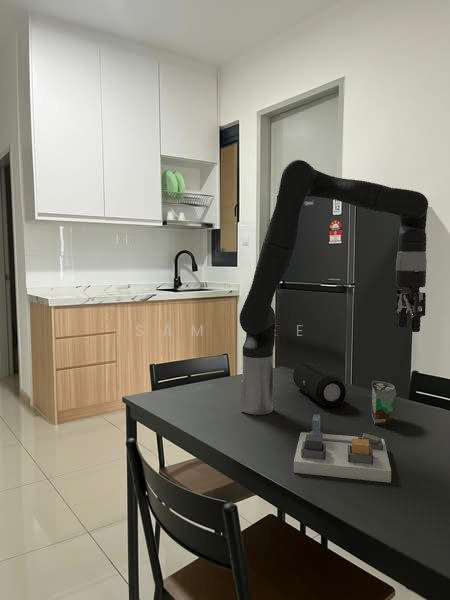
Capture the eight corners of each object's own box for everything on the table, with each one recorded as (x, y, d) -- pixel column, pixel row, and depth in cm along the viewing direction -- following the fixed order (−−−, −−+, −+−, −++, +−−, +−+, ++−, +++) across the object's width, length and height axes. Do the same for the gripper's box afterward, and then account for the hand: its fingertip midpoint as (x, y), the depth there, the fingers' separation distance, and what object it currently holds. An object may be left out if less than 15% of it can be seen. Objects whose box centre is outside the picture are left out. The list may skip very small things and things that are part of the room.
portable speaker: (290, 388, 170) (291, 361, 169) (316, 387, 172) (317, 359, 171) (318, 410, 145) (318, 378, 144) (348, 408, 147) (349, 377, 146)
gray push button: (305, 449, 105) (305, 440, 104) (306, 443, 108) (306, 434, 108) (321, 451, 104) (321, 441, 104) (322, 445, 107) (322, 435, 107)
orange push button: (351, 454, 102) (352, 444, 102) (351, 447, 106) (351, 438, 105) (369, 455, 101) (369, 445, 101) (368, 449, 105) (368, 439, 105)
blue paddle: (309, 440, 113) (309, 420, 113) (310, 433, 117) (310, 414, 117) (321, 441, 112) (322, 421, 112) (322, 434, 116) (323, 415, 116)
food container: (399, 428, 129) (400, 392, 128) (375, 426, 130) (376, 391, 130) (392, 413, 141) (393, 381, 140) (371, 412, 142) (371, 380, 142)
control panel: (293, 472, 102) (293, 453, 102) (300, 441, 120) (300, 425, 119) (390, 482, 98) (391, 463, 97) (383, 448, 115) (383, 432, 115)
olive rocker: (362, 441, 110) (363, 436, 110) (362, 437, 112) (363, 432, 112) (378, 446, 109) (379, 441, 109) (377, 441, 112) (378, 437, 111)
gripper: (387, 268, 133) (385, 325, 134) (407, 269, 118) (405, 333, 120) (413, 268, 133) (411, 325, 134) (437, 269, 119) (434, 333, 120)
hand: (408, 329), depth 127 cm, fingers open, 8 cm apart
